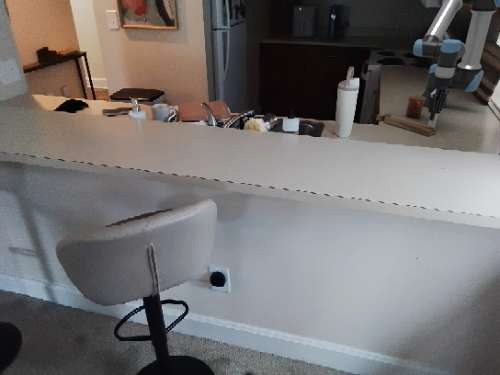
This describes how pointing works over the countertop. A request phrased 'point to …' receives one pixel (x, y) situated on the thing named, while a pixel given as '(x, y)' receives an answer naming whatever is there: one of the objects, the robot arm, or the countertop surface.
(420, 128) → the wooden kitchen tongs
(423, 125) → the tongs jaw
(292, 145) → the countertop surface
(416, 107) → the mug
